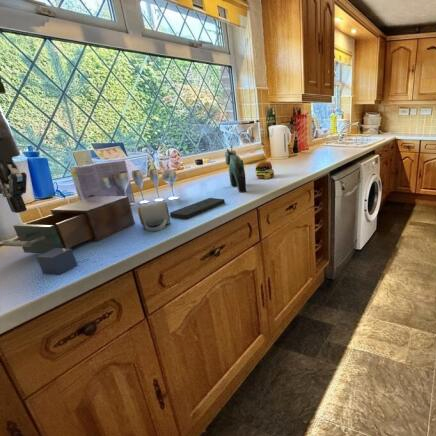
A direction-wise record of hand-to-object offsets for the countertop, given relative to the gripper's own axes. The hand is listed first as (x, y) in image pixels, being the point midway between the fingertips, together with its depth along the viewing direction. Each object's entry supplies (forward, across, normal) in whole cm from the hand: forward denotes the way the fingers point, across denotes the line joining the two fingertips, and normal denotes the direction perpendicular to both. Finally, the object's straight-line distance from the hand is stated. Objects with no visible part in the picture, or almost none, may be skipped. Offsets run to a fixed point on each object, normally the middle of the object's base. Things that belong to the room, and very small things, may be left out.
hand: (19, 211), depth 71 cm
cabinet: (+14, -9, +20) cm, 26 cm away
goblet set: (+14, -25, +48) cm, 56 cm away
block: (+14, +8, 0) cm, 16 cm away
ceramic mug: (+14, +6, +29) cm, 33 cm away
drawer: (+13, -6, +7) cm, 16 cm away
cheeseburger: (+14, -2, +103) cm, 104 cm away
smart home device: (+14, +6, +47) cm, 49 cm away
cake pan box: (+14, -33, +39) cm, 53 cm away
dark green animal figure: (+14, -1, +79) cm, 80 cm away
